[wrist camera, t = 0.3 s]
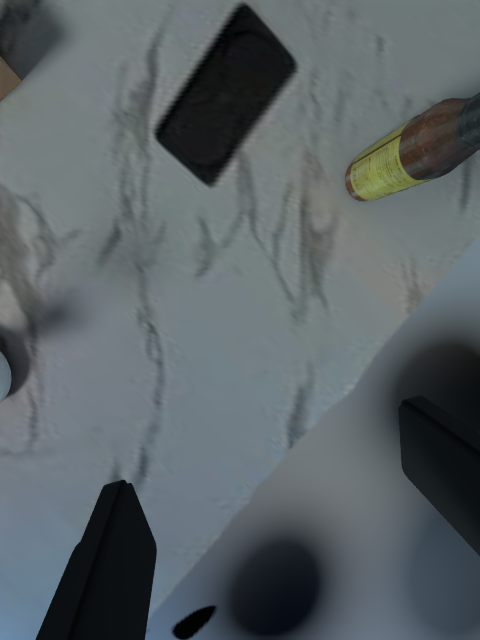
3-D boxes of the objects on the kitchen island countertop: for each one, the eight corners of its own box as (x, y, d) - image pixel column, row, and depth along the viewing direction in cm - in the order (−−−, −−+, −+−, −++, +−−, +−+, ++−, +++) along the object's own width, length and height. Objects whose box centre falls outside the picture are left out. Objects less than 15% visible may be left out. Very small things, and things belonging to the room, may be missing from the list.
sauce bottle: (371, 210, 38) (541, 169, 19) (334, 190, 37) (479, 123, 18) (393, 164, 37) (598, 72, 18) (357, 141, 36) (537, 15, 17)
